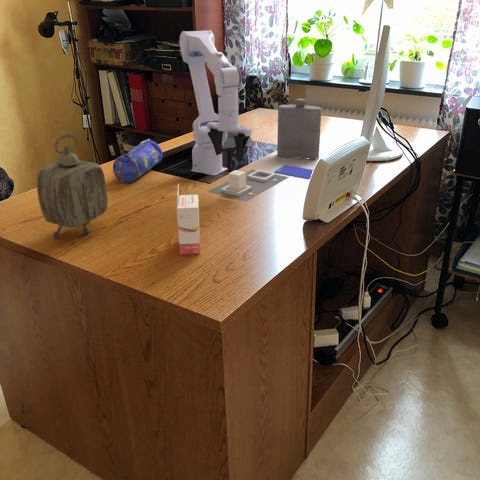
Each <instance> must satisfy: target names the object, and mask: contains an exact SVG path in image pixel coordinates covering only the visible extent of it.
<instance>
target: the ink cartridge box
mask: <svg viewBox="0 0 480 480" xmlns="http://www.w3.org/2000/svg"><path fill="white" fill-rule="evenodd" d="M179 187H180V183H178V184H177V192H176V219H177V234H178V246H179V247H178V249H179V255H181V256H183V255H200V254H201V253H200V208H199V207H200V206H199V205H200V203H199V202H200V201H199V194H181V195H180V194H179V190H180V188H179Z"/></svg>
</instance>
